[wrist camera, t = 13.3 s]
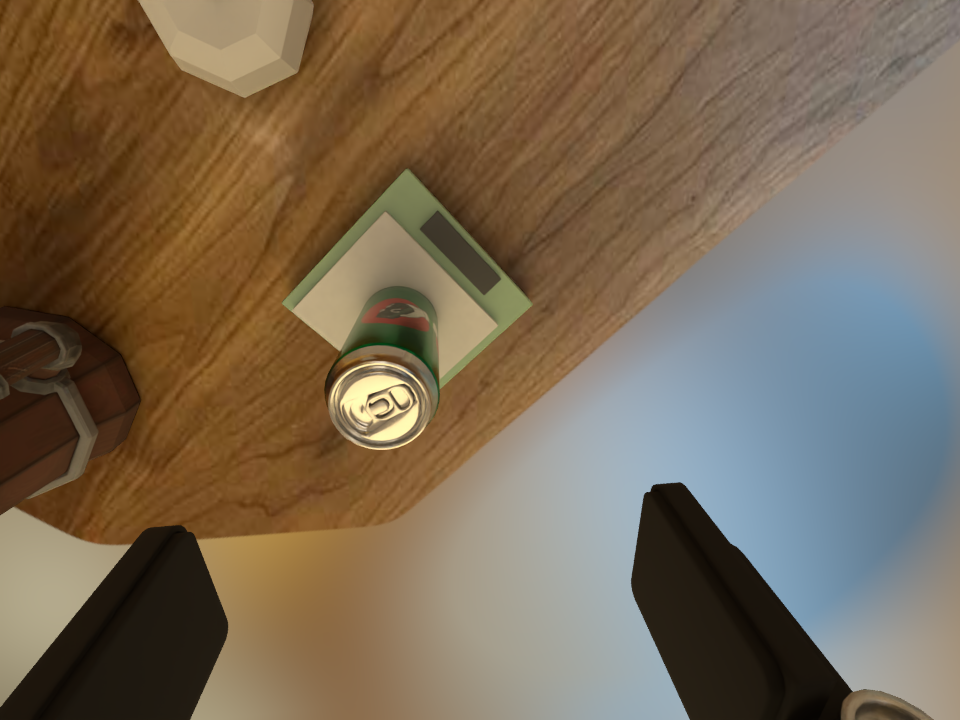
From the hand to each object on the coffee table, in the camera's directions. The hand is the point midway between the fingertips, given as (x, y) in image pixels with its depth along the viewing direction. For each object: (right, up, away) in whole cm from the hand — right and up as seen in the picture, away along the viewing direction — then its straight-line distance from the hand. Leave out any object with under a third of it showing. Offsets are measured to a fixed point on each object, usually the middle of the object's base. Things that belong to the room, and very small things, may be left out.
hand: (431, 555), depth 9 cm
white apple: (-11, +23, +16) cm, 30 cm away
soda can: (-4, +7, +21) cm, 22 cm away
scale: (-4, +9, +22) cm, 24 cm away
